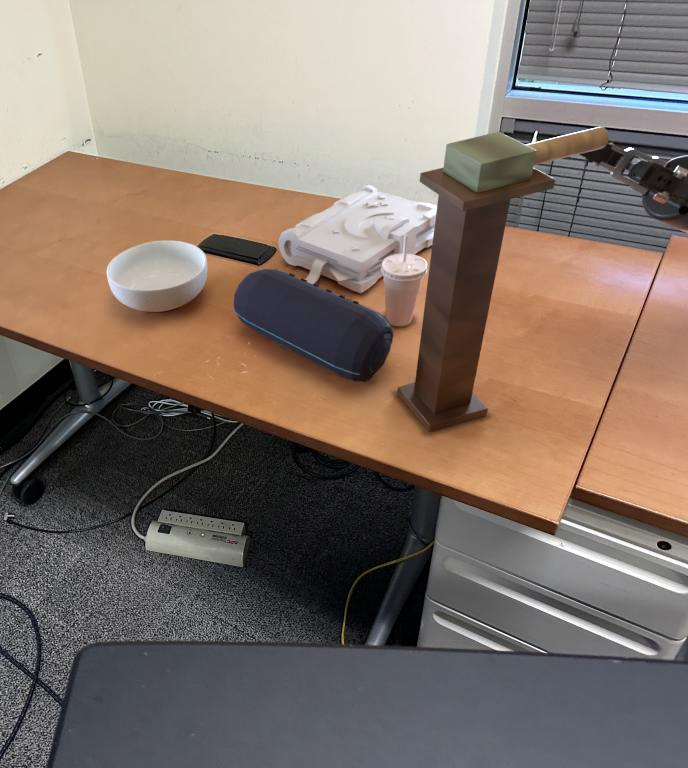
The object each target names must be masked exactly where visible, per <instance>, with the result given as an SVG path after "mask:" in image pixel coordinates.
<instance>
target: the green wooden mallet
mask: <svg viewBox="0 0 688 768" xmlns="http://www.w3.org/2000/svg"><path fill="white" fill-rule="evenodd" d="M609 136H610V135H609V131H608V130H607V129H606V127H603V126H597V127H593V128H590V129H585V130H581V131H577V132H576V131H575V132H572V133H568V134H565V135H560V136H556V137H552V138H548V139H543V140H540V141H535V142H532V143H527V144H524V143H522V142H521V141H519V140H517V139H515V138H513V137H510V136H509V135H506V134H505V133H503V132H501V131H495V132H491V133H488V134H483V135H478V136H474V137H470V138H466V139H462V140H458V141H454V142H449V143H446V147H445V153H444V161H443V167H444V168H443V167H442V168H443V172H444V173H446V174H447V175H449V176H450V177H452V178H454V179H455V180H457V181H458V182H460V183H461V184H463V185H465V186H466V187H468V188H469V189H471V190H473V191H474V192H476V193H480V192H484V191H488V190H492V189H496V188H500V187H504V186H508V185H512V184H516V183H520V182H524V181H528V180H531V177H532V172H533V168H535V166H538V165H541V164H545V163H549V162H553V161H557V160H562V159H565V158H569V157H574V156H579V154H582V153H586V152H590V151H594V150H598V149H602V148H604V147H605V146H606V145H607V143H609V139H610V137H609Z"/></svg>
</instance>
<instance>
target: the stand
mask: <svg viewBox="0 0 688 768" xmlns="http://www.w3.org/2000/svg"><path fill="white" fill-rule="evenodd" d="M443 168H444V166H443V167H440V168H436V169H435V168H434V169H431V170H427V171H424V172H420V174H419V183H421V184H422V185H423V186H425V187H426V188H428V189H429V190H431V191H433V192H434V193H435V194H437V195H438V197H437V204H436V205H437V212H436V220H435V228H434V236H433V244H432V245H431V251H430V252H431V253H430V260H429V269H428V276H427V283H426V284H427V285H426V292H425V301H424V308H423V317H422V323H421V331H420V340H419V348H418V357H417V362H416V363H417V364H416V371H415V380H414V382H412V383H408V384H404V385H401V386H398V387H397V390H396V391H397V392H396V395H397V396H398V397H399V398H400V400H402V402H404V404H405V405H406V407H408V409H409V410H410V411H411V412H412V414H413V415H414V416H415V417H416V418H417V419H418V420H419V422H420V423H421V424H422V426H424V428H425V429H426V430H427V431H428V432H429V433H431V432H434V431H438V430H441V429H444V428H447V427H451V426H454V425H458V424H461V423H464V422H467V421H472V420H475V419H478V418H482V417H484V416H487V413H488V410H489V408H488V407H487V406H486V405H485V404H484V402H482V401H481V399H479V397H477V396H476V395H475V394H474V393H473V392H474V387H475V382H476V377H477V371H478V366H479V361H480V357H481V351H482V346H483V342H484V336H485V331H486V326H487V321H488V316H489V311H490V306H491V301H492V295H493V290H494V285H495V280H496V275H497V271H498V265H499V261H500V255H501V251H502V245H503V240H504V237H505V236H504V235H505V230H506V224H507V219H508V214H509V210H510V205H511V201H512V200H513V199H516V198H522V197H526V196H529V195H533V194H537V193H540V192H541V193H542V192H545V191H548V190H553V189H554V187H555V183H556V178H554V177H552V176H550V175H548V174H546V173H544V172H542V171H541V170H539V169H537V168H535V167H533V172H532V177H531V180H528V181H524V182H520V183H516V184H512V185H508V186H504V187H500V188H496V189H492V190H488V191H484V192H480V193H476V192H474V191H473V190H471V189H469V188H468V187H466V186H465V185H463V184H461V183H460V182H458V181H457V180H455V179H454V178H452V177H450V176H449V175H447V174H446V173H444V172H443Z"/></svg>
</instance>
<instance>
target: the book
mask: <svg viewBox="0 0 688 768" xmlns="http://www.w3.org/2000/svg"><path fill="white" fill-rule="evenodd" d="M436 212H437V204H433V203H429V202H426V201H425V202H424V201H421V202H419V201H415V200H412V199H409V198H404V197H400V196H398V195H393V194H391V193H387V192H383V191H379V189H377V188H376V187H375V186H373V185H370V184H365V185H362V186H360V187H359V188H357V189H356V191H355V192H352V193H349V194H347V195H345V196H344V197H341V198H340V199H338V200H336V201H334V202H333V204H332V206H330V207H328V208H325V210H322V211H321V212H317V213H314V214H312V215H310V216H309V217H307V218H305V219H303V220H301V221H300V222H298V223H296V225H295V226H294V227H291V228H290V227H289V228H288V229H285V230H283V231H282V232H281V233H280V235H279V238H278V249H279V251H280V254H281V257H282V258H283V259H284V261H285V262H286V263H287V264H288V265H291V266H294V267H297V266H298V267H302V268H304V269H307V270H309V274H308V275H307V276H306V278H305V279H306V280H307V282H309V283H311V284H313V285H314V284H317V282H318V281H319V279H320V277H321V276H323V277H325V278H328V279H331V280H333V281H335V282H337V284H338V285H340V286H342V287H345V288H347V289H349V290H350V291H352V292H356V293H359V294H362V293H364V292H365V291H367V290H368V289H370V288H371V287H372V286H373V285H375V284H377V283H378V280H379V279H380V278H382V277H384V275H383V274H382V272H381V267H382V262H383V260H384V259H385V258H387V257H389V256H391V255H395V254H402V253H403V245H404V235H405V234H408V235H409V236H408V246H407V254H414V255H416V254H417V253H419V252H421V251H422V250H423V249H425V248H426V249H427V248H429V247H432V244H433V236H434V228H435V220H436Z"/></svg>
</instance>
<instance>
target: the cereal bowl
mask: <svg viewBox="0 0 688 768" xmlns="http://www.w3.org/2000/svg"><path fill="white" fill-rule="evenodd" d="M207 258H208V257H207V256H206V253H205V252H204V251H203V250H202V249H201V248H199V246H197V245H194V244H192V243H190V242H189V243H188V242H186V241H181V240H180V241H179V240H166V239H165V240H155V241H148V242H145V243H144V242H143V243H140V244H137V245H134V246H132V247H129V248H127V249H125V250H123V251H121V252H120V253H119V254H117V255H116V256H114V257H113V258H112V259H111V261H110V262H109V263H108V265H107V267H106V278H107V283H108V286H109V288H110V290H111V293H112V294H113V296H114V297H115V298H116V299H117V300H118V301H119V302H120V303H121V304H123V305H124V306H126V307H128V308H130V309H133V310H135V311H136V310H137V311H141V312H150V313H151V312H152V313H162V312H167V311H170V310H173V309H177V308H180V307H182V306H184V305H186V304H188V303H190V302H191V301H193V300H194V299H195V298H196V297H197V296H198V295H199V294H200V293H201V292H202V290H203V289H204V287H205V285H206V282H207V277H208V259H207Z"/></svg>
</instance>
